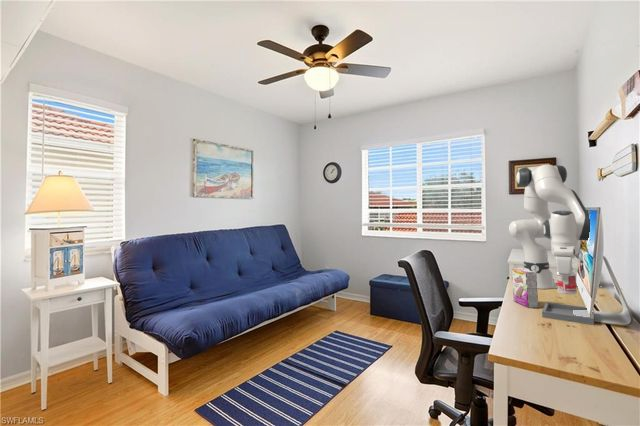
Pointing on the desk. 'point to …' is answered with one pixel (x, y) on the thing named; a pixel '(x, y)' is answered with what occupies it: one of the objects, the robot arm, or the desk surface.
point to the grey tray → (566, 313)
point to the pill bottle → (564, 287)
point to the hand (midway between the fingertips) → (566, 282)
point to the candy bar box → (525, 287)
